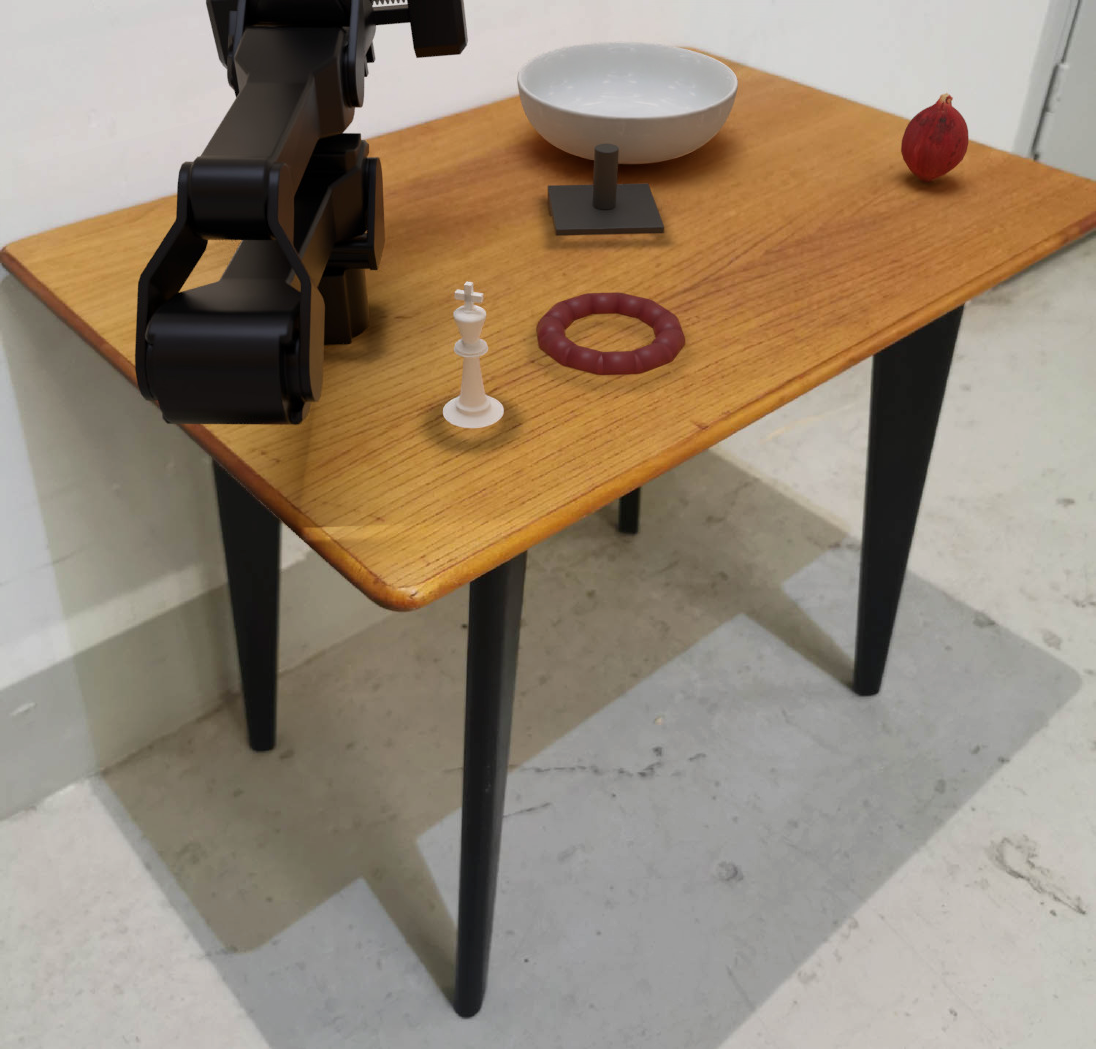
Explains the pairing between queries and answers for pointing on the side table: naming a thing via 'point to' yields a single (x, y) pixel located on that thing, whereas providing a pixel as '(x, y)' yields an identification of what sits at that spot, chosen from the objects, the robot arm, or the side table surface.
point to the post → (604, 202)
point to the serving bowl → (627, 99)
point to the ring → (617, 362)
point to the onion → (935, 140)
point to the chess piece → (471, 367)
